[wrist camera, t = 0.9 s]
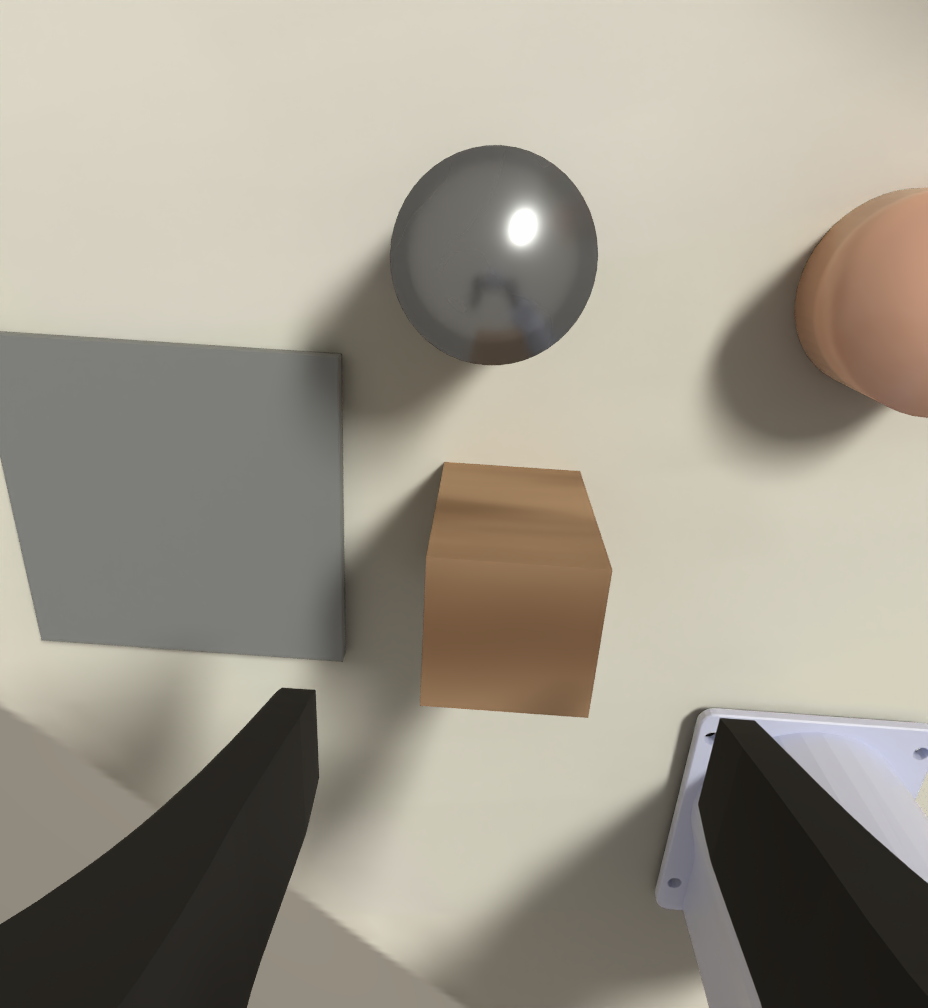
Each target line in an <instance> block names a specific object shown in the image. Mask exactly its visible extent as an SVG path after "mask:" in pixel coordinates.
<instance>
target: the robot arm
mask: <svg viewBox="0 0 928 1008" xmlns="http://www.w3.org/2000/svg"><path fill="white" fill-rule="evenodd" d="M713 732H714V733H715V734H714V735H712V736H706V735H707V734H709V733H713ZM919 748H920V749H919ZM917 749H919V750H917ZM915 750H917V751H915ZM927 772H928V724H926V723H915V722H901V721H887V720H873V719H859V718H846V717H832V716H818V715H804V714H790V713H776V712H762V711H748V710H734V709H720V708H710V709H707V710H704V711H703V712H702V713H700V714H699V716H698V718H697V721H696V726H695V730H694V734H693V738H692V742H691V746H690V750H689V754H688V758H687V762H686V766H685V771H684V775H683V779H682V783H681V787H680V791H679V795H678V799H677V803H676V807H675V811H674V816H673V820H672V824H671V828H670V832H669V836H668V840H667V844H666V848H665V852H664V856H663V861H662V865H661V869H660V873H659V877H658V881H657V885H656V889H655V897H656V902H657V904H658V905H659V906H660V907H662V908H665V909H672V910H683V912H684V916H685V920H686V923H687V927H688V931H689V934H690V938H691V942H692V946H693V949H694V953H695V957H696V960H697V964H698V968H699V971H700V975H701V979H702V983H703V986H704V990H705V994H706V997H707V1001H708V1005H709V1008H928V817H927V816H926V814H925V813H924V812H923V810H922V809H921V807H920V806H919V805H918V803H917V802H916V800H915V799H916V797H917V795H918V793H919V790H920V788H921V786H922V783H923V781H924V779H925V776H926V774H927ZM318 780H319V764H318V739H317V715H316V691H315V690H307V689H292V688H281V689H280V690H278V691H277V692H276V693H275V694H274V695H273V696H272V697H271V698H270V700H269V701H268V702H267V703H266V704H265V705H264V706H263V707H262V708H261V709H260V711H259V712H258V713H257V714H256V715H255V716H254V717H253V718H252V719H251V720H250V721H249V723H248V724H247V725H246V726H245V727H244V728H243V729H242V730H241V731H240V732H239V733H238V734H237V735H236V736H235V737H234V738H233V739H232V741H231V742H230V743H229V744H228V745H227V746H226V747H225V748H224V749H223V750H222V751H221V752H220V753H219V754H218V755H217V756H216V757H215V758H214V759H213V760H212V761H211V762H210V763H209V764H208V765H207V766H206V767H205V768H204V769H203V770H202V771H201V772H200V773H198V774H197V775H196V776H195V777H194V778H193V779H192V780H191V781H190V782H189V783H188V784H187V785H186V786H184V787H183V788H182V789H181V790H180V791H179V792H178V793H177V794H176V795H175V796H173V797H172V798H171V799H170V800H169V801H168V802H167V803H166V804H165V805H164V806H162V807H161V808H160V809H159V810H158V811H157V812H156V813H154V814H153V815H152V816H151V817H150V818H149V819H147V820H146V821H145V822H144V823H143V824H142V825H140V826H139V827H138V828H137V829H135V830H134V831H133V832H132V833H130V834H129V835H128V836H127V837H125V838H124V839H123V840H122V841H120V842H119V843H118V844H116V845H115V846H114V847H113V848H112V849H110V850H109V851H108V852H106V853H105V854H104V855H102V856H101V857H100V858H98V859H97V860H96V861H94V862H93V863H91V864H90V865H89V866H87V867H86V868H84V869H83V870H82V871H80V872H79V873H77V874H76V875H75V876H73V877H72V878H70V879H69V880H67V881H66V882H65V883H63V884H62V885H60V886H59V887H57V888H56V889H54V890H53V891H52V892H50V893H48V894H47V895H46V896H44V897H43V898H41V899H40V900H38V901H37V902H35V903H34V904H32V905H31V906H29V907H27V908H26V909H24V910H23V911H21V912H19V913H18V914H16V915H15V916H13V917H11V918H10V919H8V920H7V921H5V922H3V923H2V924H0V1008H247V1005H248V1001H249V997H250V994H251V990H252V987H253V984H254V981H255V978H256V974H257V971H258V968H259V965H260V962H261V959H262V956H263V953H264V951H265V948H266V945H267V942H268V939H269V936H270V934H271V931H272V928H273V925H274V923H275V920H276V917H277V914H278V911H279V909H280V906H281V903H282V900H283V897H284V895H285V892H286V889H287V886H288V883H289V881H290V878H291V875H292V872H293V869H294V866H295V864H296V861H297V858H298V855H299V852H300V849H301V846H302V844H303V841H304V838H305V835H306V831H307V827H308V823H309V819H310V815H311V811H312V806H313V802H314V798H315V793H316V789H317V784H318Z"/></svg>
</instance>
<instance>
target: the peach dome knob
mask: <svg viewBox="0 0 928 1008" xmlns="http://www.w3.org/2000/svg"><path fill="white" fill-rule="evenodd" d="M795 323H796V329H797V333H798V337H799V340H800V342H801V345H802V347H803V349H804V351H805V352H806V354H807V356H808V357H809V359H810V360H811V361H812V362H813V363H814V365H815V366H816V367H817V368H819V369H820V370H821V371H822V372H823V373H824V374H826V375H828V376H829V377H831V378H832V379H834V380H836V381H838V382H840V383H842V384H844V385H846V386H848V387H850V388H852V389H854V390H856V391H858V392H860V393H862V394H864V395H866V396H868V397H870V398H872V399H874V400H876V401H878V402H879V403H881V404H883V405H885V406H887V407H889V408H892V409H894V410H896V411H899V412H901V413H905V414H908V415H912V416H918V417H926V418H928V188H911V189H904V190H898V191H894V192H890V193H887V194H883V195H881V196H878V197H876V198H874V199H871V200H869V201H867V202H866V203H864V204H862V205H860V206H858V207H857V208H855V209H854V210H852V211H851V212H850V213H848V214H847V215H845V216H844V217H843V218H842V219H841V220H840V221H838V222H837V223H836V224H835V225H834V226H833V227H832V228H831V229H830V230H829V231H828V232H827V233H826V235H825V236H824V237H823V238H822V239H821V241H820V242H819V243H818V245H817V246H816V248H815V249H814V251H813V252H812V254H811V256H810V258H809V259H808V261H807V263H806V265H805V268H804V270H803V272H802V275H801V278H800V281H799V284H798V288H797V293H796V299H795Z"/></svg>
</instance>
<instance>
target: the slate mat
mask: <svg viewBox="0 0 928 1008" xmlns="http://www.w3.org/2000/svg"><path fill="white" fill-rule="evenodd" d="M0 457H1V462H2V466H3V471H4V475H5V480H6V484H7V489H8V493H9V497H10V502H11V506H12V511H13V515H14V520H15V524H16V528H17V533H18V537H19V542H20V546H21V551H22V555H23V560H24V564H25V568H26V573H27V577H28V582H29V586H30V591H31V595H32V599H33V604H34V608H35V613H36V617H37V622H38V626H39V631H40V635H41V639H42V640H47V641H61V642H75V643H89V644H103V645H117V646H131V647H145V648H159V649H173V650H187V651H201V652H215V653H229V654H243V655H257V656H271V657H285V658H299V659H313V660H327V661H341V662H343V659H344V656H345V653H346V651H345V578H344V506H343V434H342V361H341V354H337V353H322V352H306V351H291V350H276V349H261V348H246V347H230V346H215V345H200V344H185V343H170V342H154V341H139V340H124V339H109V338H93V337H78V336H63V335H48V334H33V333H17V332H2V331H0Z"/></svg>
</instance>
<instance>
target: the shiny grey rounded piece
mask: <svg viewBox="0 0 928 1008" xmlns="http://www.w3.org/2000/svg"><path fill="white" fill-rule="evenodd" d="M597 261H598V247H597V236H596V231H595V226H594V222H593V219H592V216H591V213H590V210H589V208H588V206H587V204H586V202H585V200H584V198H583V196H582V195H581V193H580V192H579V190H578V189H577V187H576V186H575V185H574V183H573V182H572V181H571V180H570V179H569V178H568V176H567V175H566V174H565V173H563V172H562V171H561V170H560V169H559V168H558V167H556V166H555V165H554V164H552V163H551V162H549V161H548V160H546V159H545V158H543V157H541V156H539V155H537V154H534V153H532V152H530V151H527V150H523V149H520V148H516V147H510V146H502V145H493V146H481V147H475V148H471V149H468V150H464V151H461V152H458V153H456V154H454V155H452V156H450V157H448V158H446V159H444V160H443V161H441V162H440V163H438V164H437V165H435V166H434V167H433V168H432V169H430V170H429V171H428V172H427V173H426V174H425V175H424V176H423V177H422V178H421V179H420V180H419V181H418V182H417V184H416V185H415V186H414V187H413V188H412V190H411V191H410V193H409V195H408V196H407V198H406V199H405V201H404V203H403V205H402V207H401V209H400V211H399V214H398V216H397V219H396V222H395V225H394V230H393V234H392V239H391V250H390V263H391V274H392V279H393V284H394V288H395V291H396V294H397V297H398V300H399V302H400V304H401V306H402V309H403V311H404V312H405V314H406V316H407V317H408V319H409V321H410V322H411V323H412V324H413V326H414V327H415V328H416V330H417V331H418V332H419V333H420V334H421V335H422V336H423V337H424V338H425V339H426V340H427V341H428V342H430V343H431V344H432V345H434V346H435V347H436V348H438V349H439V350H441V351H443V352H444V353H446V354H448V355H450V356H452V357H455V358H457V359H460V360H462V361H466V362H470V363H474V364H482V365H503V364H511V363H515V362H519V361H523V360H526V359H528V358H530V357H533V356H535V355H537V354H539V353H541V352H543V351H544V350H546V349H548V348H549V347H551V346H552V345H553V344H555V343H556V342H557V341H559V340H560V339H561V338H562V337H563V336H564V335H565V334H566V333H567V332H568V331H569V330H570V328H571V327H572V326H573V325H574V323H575V322H576V321H577V319H578V318H579V316H580V315H581V313H582V311H583V310H584V308H585V306H586V304H587V301H588V299H589V297H590V294H591V291H592V288H593V285H594V281H595V276H596V271H597Z"/></svg>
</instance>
